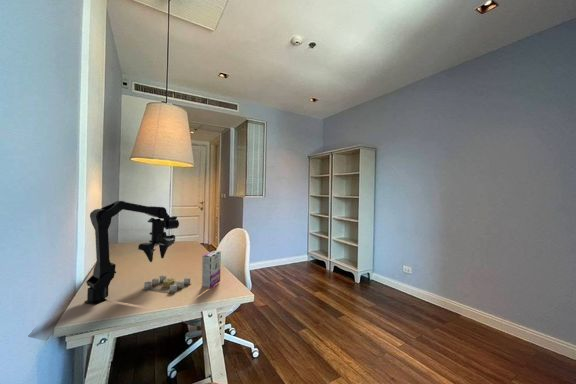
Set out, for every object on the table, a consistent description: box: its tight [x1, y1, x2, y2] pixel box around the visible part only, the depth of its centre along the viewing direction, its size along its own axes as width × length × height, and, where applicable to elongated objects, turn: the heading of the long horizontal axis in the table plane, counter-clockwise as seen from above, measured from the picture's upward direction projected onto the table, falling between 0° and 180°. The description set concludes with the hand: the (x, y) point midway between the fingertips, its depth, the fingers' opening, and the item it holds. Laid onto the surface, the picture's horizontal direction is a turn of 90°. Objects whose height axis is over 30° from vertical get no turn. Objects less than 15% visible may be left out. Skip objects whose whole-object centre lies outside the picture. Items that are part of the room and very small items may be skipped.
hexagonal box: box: [163, 277, 176, 288], centre depth 117 cm, size 5×6×3 cm
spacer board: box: [141, 274, 192, 295], centre depth 113 cm, size 20×18×4 cm
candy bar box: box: [201, 250, 222, 289], centre depth 123 cm, size 11×5×16 cm, turn 170°
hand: (156, 260), depth 123 cm, fingers open, 7 cm apart
